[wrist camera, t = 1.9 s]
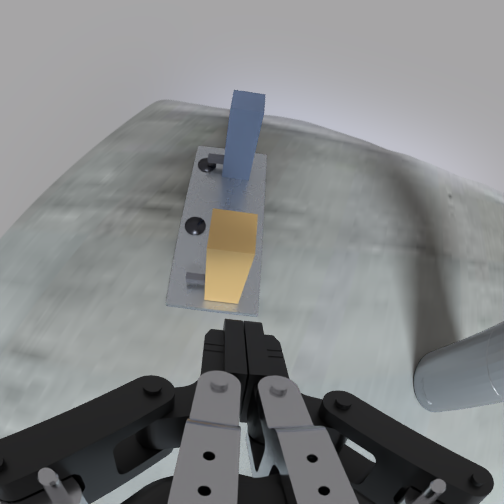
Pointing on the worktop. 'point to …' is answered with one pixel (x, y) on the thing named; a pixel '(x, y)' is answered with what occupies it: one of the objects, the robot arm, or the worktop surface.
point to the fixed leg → (241, 135)
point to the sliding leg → (227, 255)
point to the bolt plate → (198, 225)
